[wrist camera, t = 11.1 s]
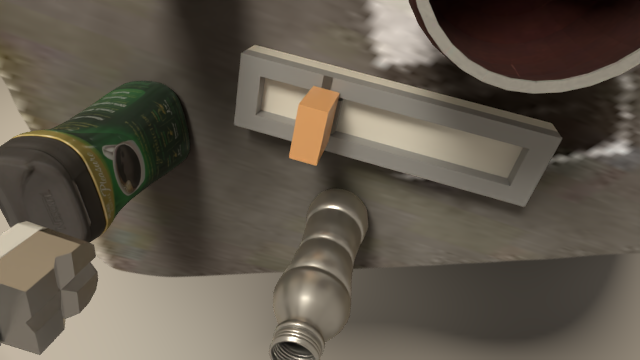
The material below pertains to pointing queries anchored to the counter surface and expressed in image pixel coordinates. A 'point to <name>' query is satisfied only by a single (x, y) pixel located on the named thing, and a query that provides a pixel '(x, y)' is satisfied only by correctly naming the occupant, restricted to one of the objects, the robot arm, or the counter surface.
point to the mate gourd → (535, 40)
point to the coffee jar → (93, 160)
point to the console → (400, 125)
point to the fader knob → (315, 124)
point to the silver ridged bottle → (319, 277)
